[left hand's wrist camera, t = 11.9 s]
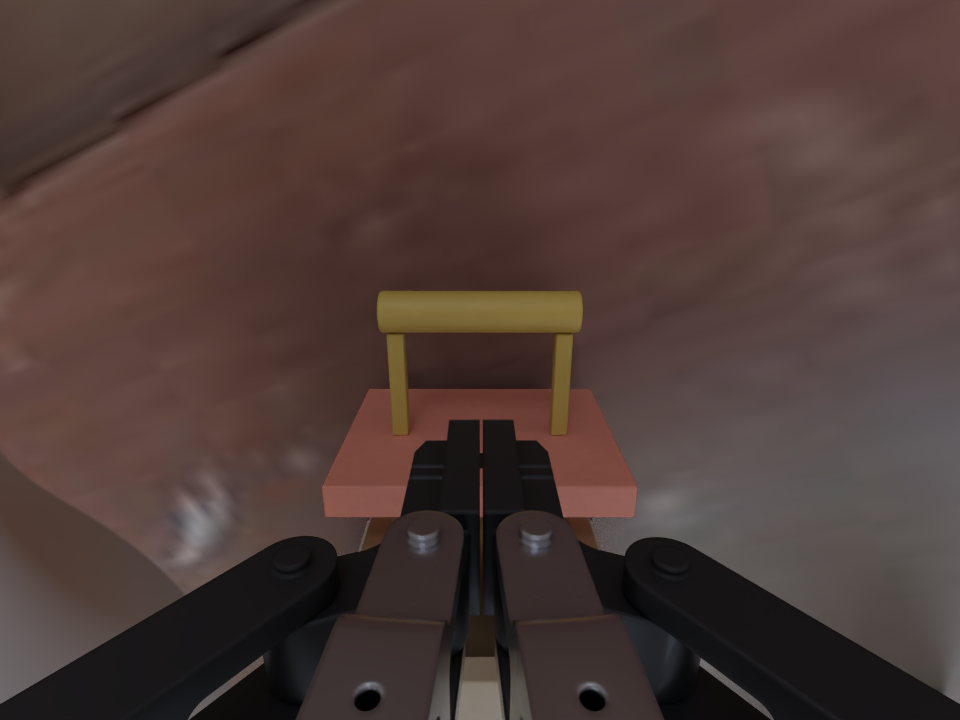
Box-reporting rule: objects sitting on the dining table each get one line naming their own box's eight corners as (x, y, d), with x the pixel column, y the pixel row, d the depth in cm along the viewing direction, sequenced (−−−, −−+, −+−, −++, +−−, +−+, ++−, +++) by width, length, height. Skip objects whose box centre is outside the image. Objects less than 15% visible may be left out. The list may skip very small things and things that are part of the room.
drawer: (359, 268, 22) (300, 321, 15) (600, 268, 22) (659, 321, 15) (389, 660, 30) (361, 821, 23) (569, 660, 30) (597, 821, 23)
